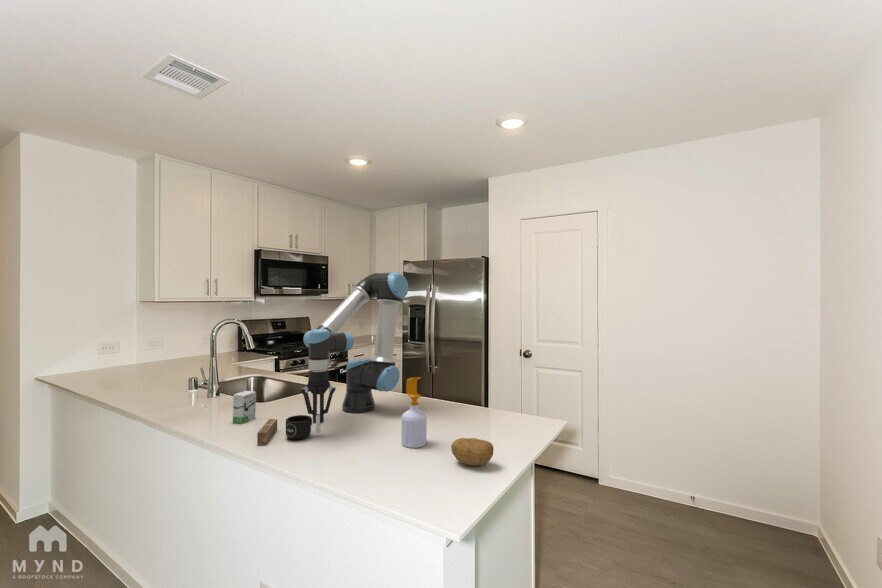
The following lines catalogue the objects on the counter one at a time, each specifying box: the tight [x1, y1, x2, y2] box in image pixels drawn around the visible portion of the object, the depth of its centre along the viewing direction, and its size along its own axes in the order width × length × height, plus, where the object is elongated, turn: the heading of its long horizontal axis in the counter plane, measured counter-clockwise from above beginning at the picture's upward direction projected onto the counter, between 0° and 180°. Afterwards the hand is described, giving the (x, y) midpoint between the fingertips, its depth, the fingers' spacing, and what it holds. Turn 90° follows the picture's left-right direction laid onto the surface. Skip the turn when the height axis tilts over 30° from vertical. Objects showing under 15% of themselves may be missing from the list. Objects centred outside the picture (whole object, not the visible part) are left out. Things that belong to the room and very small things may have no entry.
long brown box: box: [256, 418, 278, 446], centre depth 153 cm, size 3×16×5 cm, turn 9°
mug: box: [285, 414, 313, 441], centre depth 155 cm, size 12×9×7 cm
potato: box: [450, 437, 494, 467], centre depth 132 cm, size 10×14×8 cm
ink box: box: [232, 390, 257, 425], centre depth 173 cm, size 9×5×12 cm, turn 168°
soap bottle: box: [401, 376, 428, 449], centre depth 149 cm, size 9×9×25 cm
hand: (318, 431), depth 156 cm, fingers closed
